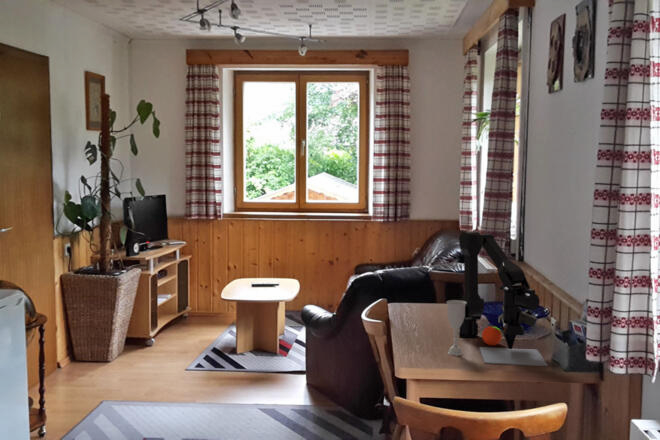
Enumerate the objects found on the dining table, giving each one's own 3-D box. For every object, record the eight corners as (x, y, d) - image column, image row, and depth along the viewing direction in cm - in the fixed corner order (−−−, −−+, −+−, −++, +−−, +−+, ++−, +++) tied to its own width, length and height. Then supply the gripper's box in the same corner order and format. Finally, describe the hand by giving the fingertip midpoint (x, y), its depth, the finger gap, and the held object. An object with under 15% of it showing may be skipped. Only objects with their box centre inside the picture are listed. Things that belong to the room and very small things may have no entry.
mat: (484, 363, 212) (484, 362, 212) (479, 348, 230) (479, 347, 230) (547, 366, 210) (547, 365, 210) (537, 350, 227) (537, 349, 227)
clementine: (507, 345, 233) (508, 326, 233) (497, 349, 229) (498, 329, 228) (488, 341, 239) (488, 322, 238) (478, 344, 234) (478, 325, 234)
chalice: (460, 357, 218) (462, 305, 217) (441, 354, 222) (443, 302, 220) (468, 352, 225) (469, 301, 223) (449, 349, 228) (451, 299, 227)
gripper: (540, 311, 213) (539, 357, 214) (530, 299, 231) (529, 342, 232) (506, 310, 214) (504, 356, 215) (499, 298, 232) (497, 341, 234)
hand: (510, 348), depth 224 cm, fingers closed
